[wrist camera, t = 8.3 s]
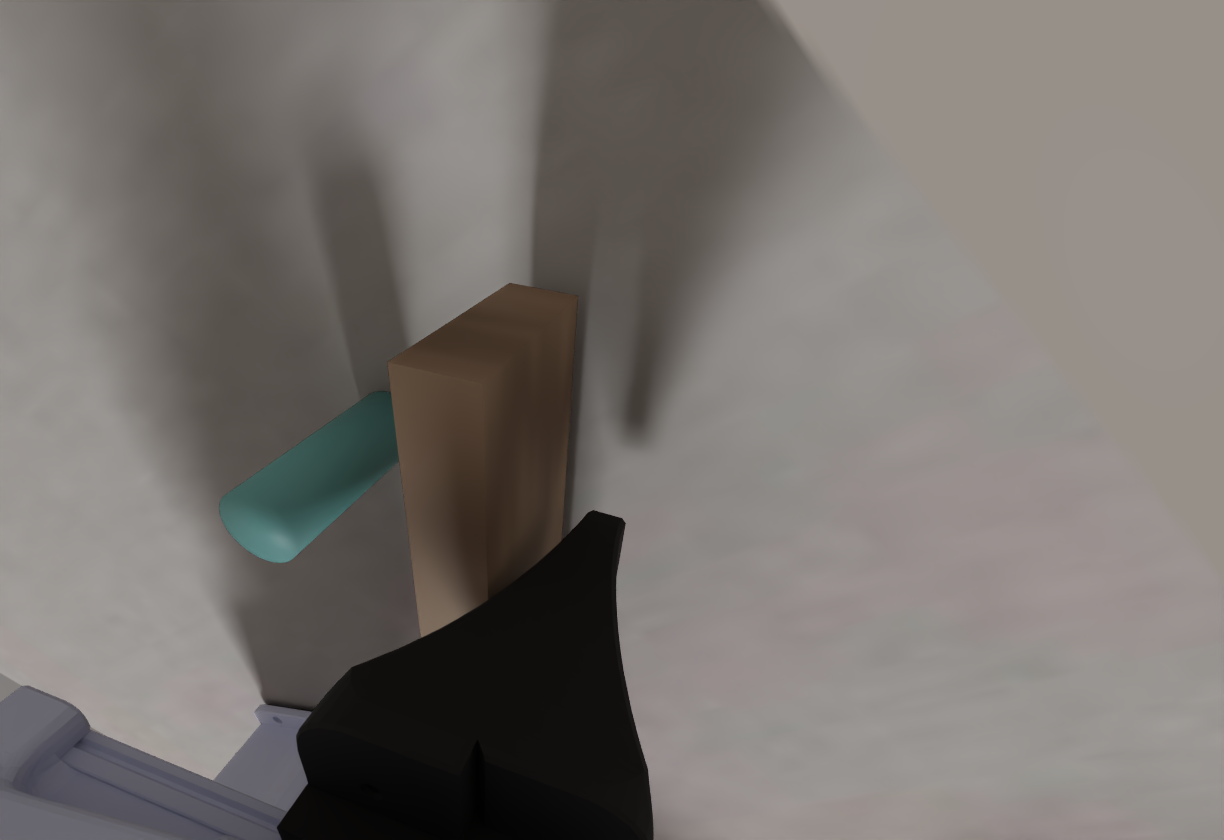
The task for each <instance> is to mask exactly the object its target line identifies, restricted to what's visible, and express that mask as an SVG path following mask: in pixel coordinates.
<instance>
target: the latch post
mask: <svg viewBox="0 0 1224 840" xmlns="http://www.w3.org/2000/svg"><path fill="white" fill-rule="evenodd" d="M397 462H399V455H398V446H397V438H396V430H395V422H394V413H393V405H392V397H391V393H389V392H384V391H378V392H374V393H371V394H369V395H368V396H366V397H365V398H364V399H362V400H361V401H359V402H358V403H356V404H355V405H354V406H352V407H351V408H349V409H348V410H346V411H345V412H343V413H342V414H341V415H339V416H338V417H336V418H335V419H333V420H332V421H331V422H329V423H328V424H326V425H325V426H323V427H322V428H321V429H319V430H318V431H316V432H315V433H313V434H312V435H310V436H309V437H308V438H306V439H305V440H303V441H302V442H300V443H299V444H298V445H296V446H295V447H293V448H292V449H290V450H289V451H288V452H286V453H285V454H283V455H282V456H280V457H279V458H277V459H276V460H275V461H273V462H272V463H270V464H269V465H267V466H266V467H265V468H263V469H262V470H260V471H259V472H257V473H256V474H254V475H253V476H252V477H250V478H249V479H247V480H246V481H244V482H243V483H242V484H240V485H239V486H237V487H236V488H234V489H233V490H232V491H230V492H229V493H227V494H226V495H225V496H223V497H222V499H221V501H220V504H219V511H220V516H221V519H222V521H223V523H224V525H225V527H226V529H227V530H228V531H229V533H230V534H231V535H232V537H233V538H234V539H235V540H236V541H237V542H238V543H239V544H240V545H241V546H243V547H244V548H245V549H246V550H248V551H249V552H251V553H252V554H254V555H256V556H258V557H260V558H262V559H264V560H267V561H270V562H275V563H284V562H288V561H290V560H292V559H293V558H294V557H295V556H296V555H297V554H299V553H300V552H301V551H302V550H303V549H304V548H305V547H306V546H307V545H308V544H309V543H310V542H312V541H313V540H314V539H315V538H316V537H317V536H318V535H319V534H320V533H321V532H322V531H324V530H325V529H326V528H327V527H328V526H329V525H330V524H331V523H332V522H333V521H334V520H335V519H337V518H338V517H339V516H340V515H341V514H342V513H343V512H344V511H345V510H346V509H347V508H349V507H350V506H351V505H352V504H353V503H354V502H355V501H356V500H357V499H358V498H359V497H360V496H362V495H363V494H364V493H365V492H366V491H367V490H368V489H369V488H370V487H371V486H372V485H374V484H375V483H376V482H377V481H378V480H379V479H380V478H381V477H382V476H383V475H384V474H385V473H387V472H388V471H389V470H390V469H391V468H392V467H393V466H394V465H395V464H396V463H397Z"/></svg>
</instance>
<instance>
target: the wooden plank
mask: <svg viewBox="0 0 1224 840" xmlns="http://www.w3.org/2000/svg"><path fill="white" fill-rule="evenodd" d="M577 305H578V296H576V295H571V294H566V293H560V292H555V291H550V290H544V289H539V288H534V287H528V286H523V285H518V284H512V283H509V284H507V285H506V286H504V287H503V288H501V289H500V290H498V291H496V292H495V293H493V294H492V295H490V296H489V297H487V298H486V299H484V300H483V301H481V302H479V303H478V304H476V305H475V306H473V307H472V308H470V309H469V310H467V311H466V312H464V313H462V314H461V315H459V316H458V317H456V318H455V319H453V320H452V321H450V322H449V323H447V324H445V325H444V326H442V327H441V328H439V329H438V330H436V331H435V332H433V333H432V334H430V335H428V336H427V337H425V338H424V339H422V340H421V341H419V342H418V343H416V344H415V345H413V346H411V347H410V348H408V349H407V350H405V351H404V352H402V353H401V354H399V355H398V356H396V357H394V358H393V359H391V360H390V361H388V362H387V364H388V372H389V381H390V389H391V397H392V405H393V413H394V422H395V430H396V438H397V446H398V455H399V463H400V471H401V479H402V487H403V496H404V504H405V512H406V520H407V529H408V537H409V545H410V553H411V561H412V570H413V578H414V586H415V594H416V603H417V611H418V619H419V627H420V635H421V638H422V637H424V636H426V635H428V634H430V633H432V632H434V631H436V630H438V629H440V628H442V627H444V626H445V625H447V624H449V623H451V622H453V621H454V620H456V619H458V618H460V617H461V616H463V615H465V614H466V613H468V612H470V611H471V610H473V609H475V608H476V607H478V606H479V605H481V604H483V603H484V602H486V601H487V600H489V599H490V598H492V597H493V596H495V595H496V594H497V593H499V592H500V591H502V590H503V589H504V588H506V587H507V586H509V585H510V584H511V583H513V582H514V581H515V580H516V579H518V578H519V577H520V576H521V575H523V574H524V573H525V572H526V571H528V570H529V569H530V568H531V567H533V566H534V565H535V564H536V563H538V562H539V561H540V560H541V559H542V558H543V557H544V556H545V555H547V554H548V553H549V552H550V551H551V550H552V549H553V548H554V547H555V546H556V545H558V544H559V543H560V542H561V541H562V526H563V511H564V497H565V482H566V467H567V452H568V438H569V423H570V408H571V393H572V378H573V364H574V349H575V334H576V319H577Z"/></svg>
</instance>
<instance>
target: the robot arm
mask: <svg viewBox="0 0 1224 840" xmlns="http://www.w3.org/2000/svg"><path fill="white" fill-rule="evenodd" d="M625 524H626V523H625V522H624V520H623V519H622V518H619V517H615V516H612V515H608V514H605V513H601V512H598V511H594V510H592V511H590V512H588V513H587V514H586V516H585V517H584V518H583V519H582V520H581V521H580V522H579V523H578V525H577V526H576V527H575V528H574V529H573V530H572V531H571V532H570V533H569V534H568V535H567V536H566V537H565V538H564V539H563V540H562V541H561V542H560V543H559V544H558V545H556V546H555V547H554V548H553V549H552V550H551V551H550V552H549V553H548V554H547V555H545V556H544V557H543V558H542V559H541V560H540V561H539V562H538V563H536V564H535V565H534V566H533V567H531V568H530V569H529V570H528V571H526V572H525V573H524V574H523V575H521V576H520V577H519V578H518V579H516V580H515V581H514V582H513V583H511V584H510V585H509V586H507V587H506V588H504V589H503V590H502V591H500V592H499V593H497V594H496V595H495V596H493V597H492V598H490V599H489V600H487V601H486V602H484V603H483V604H481V605H479V606H478V607H476V608H475V609H473V610H471V611H470V612H468V613H466V614H465V615H463V616H461V617H460V618H458V619H456V620H454V621H453V622H451V623H449V624H447V625H445V626H444V627H442V628H440V629H438V630H436V631H434V632H432V633H430V634H428V635H426V636H424V637H422V638H420V639H418V640H416V641H414V642H412V643H409V644H407V645H405V646H403V647H401V648H399V649H396V650H394V651H391V652H389V653H386V654H384V655H382V656H379V657H377V658H374V659H372V660H369V661H367V662H364V663H362V664H359V665H357V666H354V667H352V668H351V669H350V670H349V671H348V672H347V673H346V674H345V675H344V676H343V677H342V678H341V679H340V680H339V681H338V682H337V683H336V684H335V685H334V686H333V687H332V688H331V689H330V690H329V692H328V693H327V694H326V695H325V696H324V698H323V699H322V700H321V701H320V703H319V704H318V705H317V706H316V708H315V709H314V710H313V712H310V711H304V710H297V709H291V708H284V707H278V706H272V705H265V704H262V705H260V706H259V707H258V708H257V709H256V710H255V716H256V717H257V719H258V720H259V722H260V723H261V725H260V726H259V727H258V728H257V729H256V731H255V732H254V733H253V734H252V735H251V736H250V738H249V739H248V740H247V741H246V742H245V744H244V745H243V746H242V747H241V748H240V749H239V751H238V752H237V753H236V754H235V755H234V757H233V758H232V759H231V760H230V761H229V762H228V764H227V765H226V766H225V767H224V768H223V769H222V771H221V772H220V773H219V774H218V775H217V777H216V778H215V779H214V780H213V781H212V780H210V779H208V778H205V777H203V776H200V775H198V774H196V773H193V772H191V771H188V770H186V769H184V768H181V767H179V766H176V765H174V764H172V763H169V762H167V761H164V760H162V759H160V758H157V757H155V756H152V755H150V754H148V753H145V752H143V751H140V750H138V749H136V748H133V747H131V746H128V745H126V744H124V743H121V742H119V741H117V740H114V739H112V738H109V737H107V736H105V735H102V734H100V733H97V732H95V731H92V730H90V725H89V723H88V721H87V719H86V717H85V716H84V715H83V713H82V712H81V711H80V710H79V709H77V708H76V707H75V706H74V705H72V704H70V703H68V702H67V701H65V700H62V699H60V698H57V697H55V696H53V695H50V694H48V693H45V692H43V691H40V690H38V689H35V688H33V687H31V686H21V687H20V688H18V689H17V690H16V691H14V692H13V693H12V694H10V695H9V696H8V697H6V698H5V699H4V700H3V701H1V702H0V840H653V815H652V804H651V795H650V786H649V776H648V768H647V765H646V762H645V758H644V755H643V752H642V748H641V745H640V741H639V738H638V734H637V730H636V726H635V722H634V718H633V714H632V710H631V706H630V701H629V696H628V691H627V686H626V681H625V676H624V671H623V664H622V658H621V651H620V642H619V634H618V622H617V605H616V575H617V570H618V564H619V558H620V553H621V547H622V541H623V536H624V530H625Z"/></svg>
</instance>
